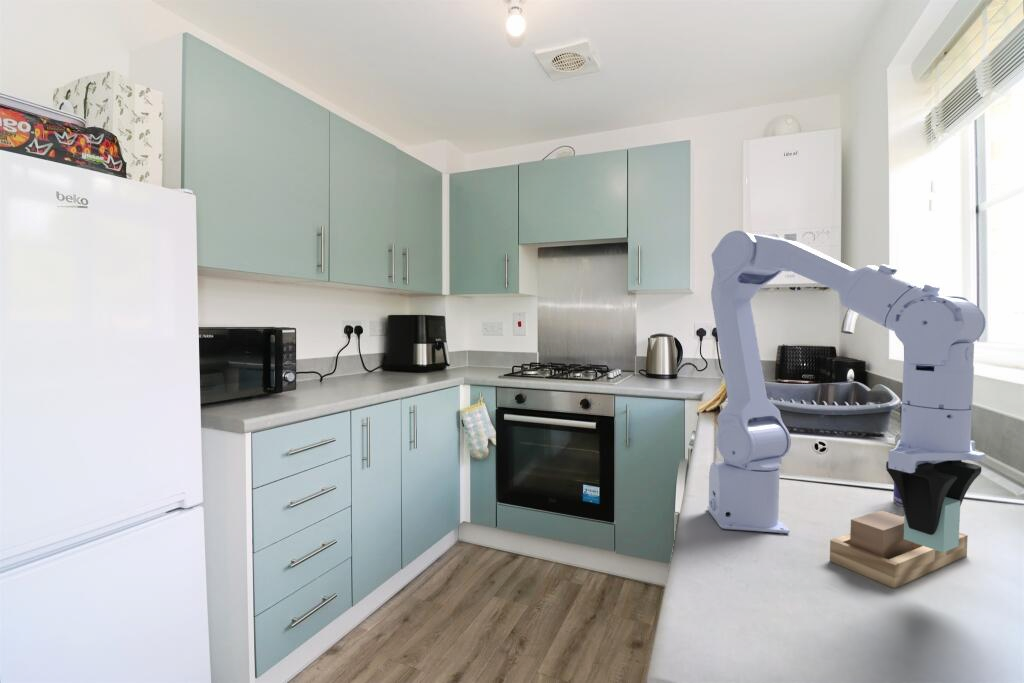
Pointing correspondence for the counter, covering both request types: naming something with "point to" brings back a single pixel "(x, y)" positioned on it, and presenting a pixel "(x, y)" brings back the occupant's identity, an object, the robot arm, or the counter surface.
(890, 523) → the tan cardboard box
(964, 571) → the counter surface
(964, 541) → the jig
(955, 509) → the block
